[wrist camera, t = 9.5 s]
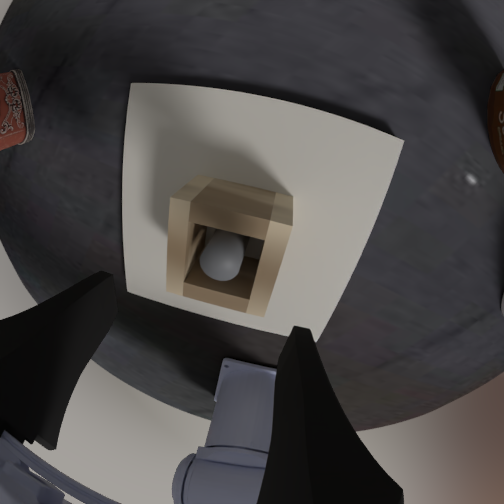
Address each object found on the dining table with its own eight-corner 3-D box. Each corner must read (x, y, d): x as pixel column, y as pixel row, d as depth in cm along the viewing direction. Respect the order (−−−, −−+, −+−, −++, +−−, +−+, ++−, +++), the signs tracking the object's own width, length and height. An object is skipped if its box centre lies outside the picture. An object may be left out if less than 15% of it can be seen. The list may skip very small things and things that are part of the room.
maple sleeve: (270, 275, 18) (263, 317, 15) (189, 254, 18) (166, 291, 15) (293, 196, 15) (292, 226, 12) (197, 174, 15) (170, 197, 12)
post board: (316, 331, 22) (317, 382, 17) (133, 283, 22) (103, 323, 18) (396, 138, 13) (436, 154, 9) (140, 83, 14) (89, 83, 9)
